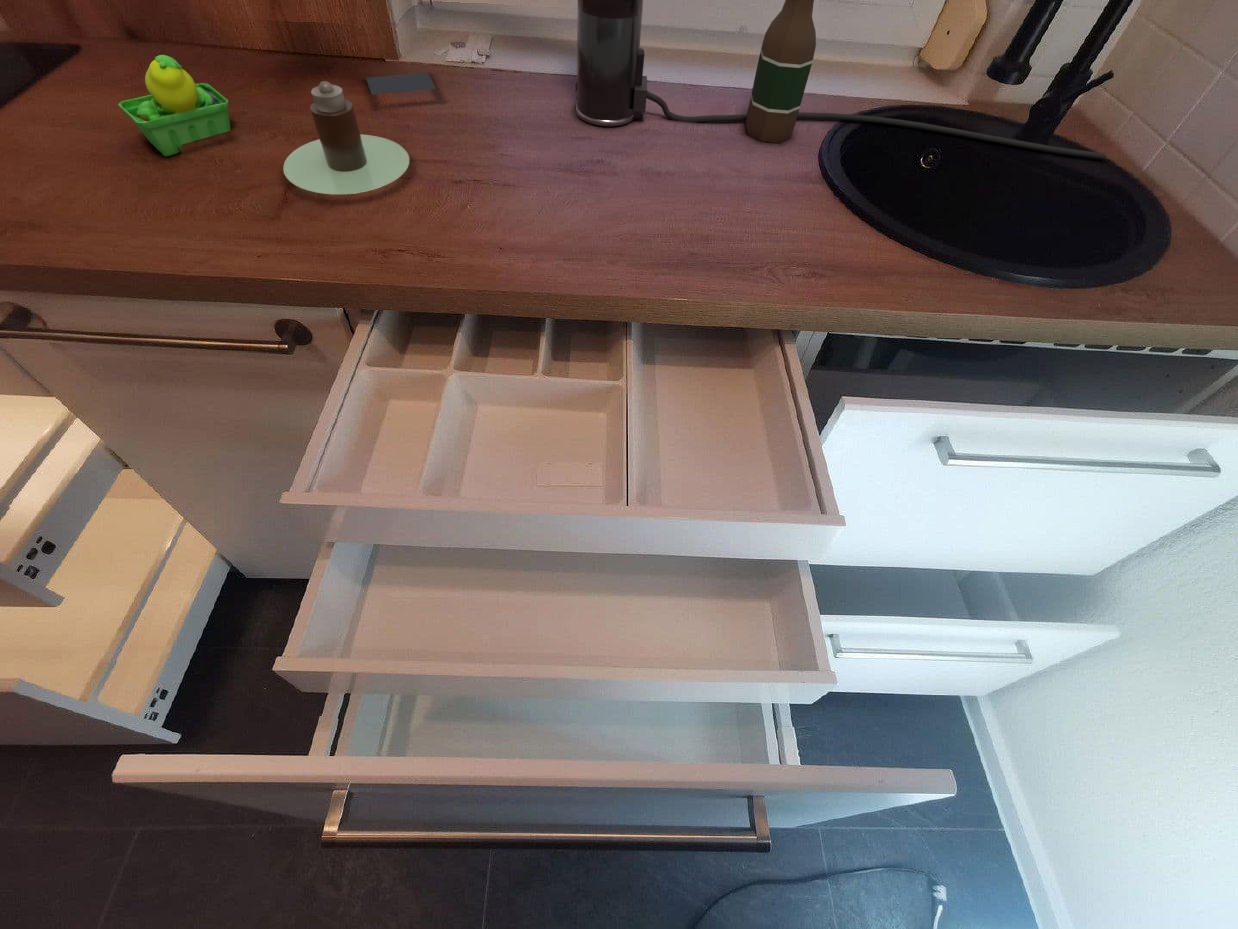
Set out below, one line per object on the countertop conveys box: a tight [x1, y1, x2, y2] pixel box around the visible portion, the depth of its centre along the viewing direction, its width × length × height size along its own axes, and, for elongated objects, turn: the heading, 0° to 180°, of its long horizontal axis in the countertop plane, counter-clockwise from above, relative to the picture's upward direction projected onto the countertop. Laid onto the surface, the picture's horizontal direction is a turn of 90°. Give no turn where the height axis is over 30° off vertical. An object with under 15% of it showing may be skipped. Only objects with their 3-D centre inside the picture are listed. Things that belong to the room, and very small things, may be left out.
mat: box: [365, 72, 437, 96], centre depth 98 cm, size 10×10×1 cm
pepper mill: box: [309, 80, 367, 172], centre depth 78 cm, size 5×5×10 cm
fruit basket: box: [118, 54, 232, 157], centre depth 81 cm, size 11×9×11 cm
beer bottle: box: [745, 0, 817, 144], centre depth 88 cm, size 8×8×24 cm
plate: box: [282, 133, 410, 195], centre depth 83 cm, size 16×16×1 cm
